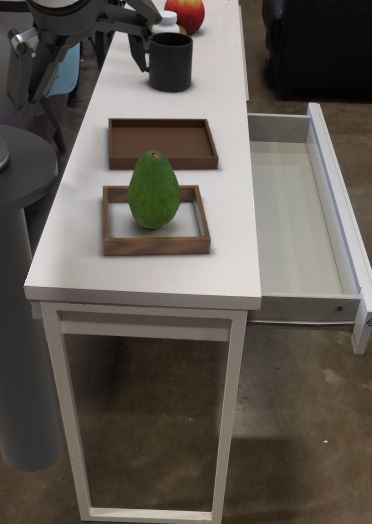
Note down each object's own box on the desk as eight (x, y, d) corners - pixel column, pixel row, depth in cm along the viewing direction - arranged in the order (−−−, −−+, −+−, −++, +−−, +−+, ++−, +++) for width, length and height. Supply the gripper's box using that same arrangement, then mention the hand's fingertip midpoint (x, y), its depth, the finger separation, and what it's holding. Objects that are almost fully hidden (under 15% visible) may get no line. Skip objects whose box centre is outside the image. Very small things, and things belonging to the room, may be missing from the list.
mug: (137, 75, 132) (136, 30, 125) (189, 76, 132) (191, 32, 126) (137, 91, 125) (136, 45, 119) (192, 93, 126) (194, 47, 119)
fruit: (155, 28, 155) (156, -16, 147) (189, 23, 159) (191, -20, 152) (177, 40, 149) (178, -5, 141) (211, 35, 153) (215, -10, 146)
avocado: (127, 238, 87) (125, 163, 79) (129, 211, 93) (127, 137, 84) (179, 240, 88) (183, 165, 79) (179, 212, 93) (182, 139, 84)
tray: (110, 169, 101) (109, 158, 100) (108, 128, 112) (108, 118, 111) (217, 169, 103) (218, 157, 102) (206, 129, 114) (207, 118, 113)
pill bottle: (179, 72, 134) (181, 18, 126) (152, 72, 133) (152, 17, 125) (177, 63, 138) (179, 9, 130) (151, 62, 137) (151, 9, 129)
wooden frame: (104, 255, 84) (103, 240, 82) (103, 199, 95) (102, 185, 93) (209, 253, 86) (211, 239, 84) (197, 198, 96) (198, 184, 94)
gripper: (-34, 77, 54) (29, 165, 75) (191, -65, 54) (191, 63, 75) (-76, 10, 54) (-1, 117, 75) (148, -132, 54) (160, 15, 75)
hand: (95, 90), depth 75 cm, fingers open, 13 cm apart
